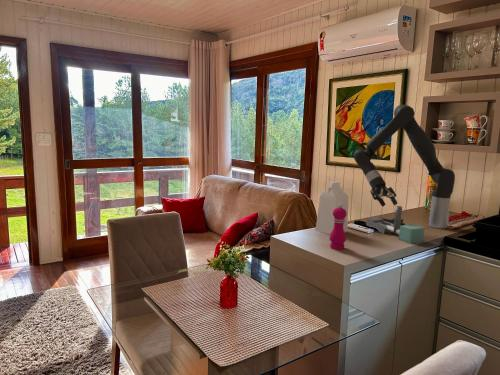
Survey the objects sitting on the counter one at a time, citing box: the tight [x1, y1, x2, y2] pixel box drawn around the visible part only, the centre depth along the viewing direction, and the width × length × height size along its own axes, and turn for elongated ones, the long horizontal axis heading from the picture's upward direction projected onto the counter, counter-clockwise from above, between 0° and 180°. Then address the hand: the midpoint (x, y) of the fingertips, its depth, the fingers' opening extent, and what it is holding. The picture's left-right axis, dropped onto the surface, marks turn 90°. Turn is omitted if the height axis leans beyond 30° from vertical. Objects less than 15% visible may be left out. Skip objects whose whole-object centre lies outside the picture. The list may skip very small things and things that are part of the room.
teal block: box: [398, 223, 426, 244], centre depth 179 cm, size 9×7×7 cm
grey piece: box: [387, 205, 403, 235], centre depth 185 cm, size 3×18×14 cm, turn 26°
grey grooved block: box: [365, 216, 394, 235], centre depth 197 cm, size 8×13×5 cm, turn 26°
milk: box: [315, 181, 349, 235], centre depth 190 cm, size 12×12×26 cm
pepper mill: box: [329, 204, 347, 251], centre depth 164 cm, size 7×7×20 cm
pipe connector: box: [378, 216, 406, 226], centre depth 203 cm, size 12×5×15 cm
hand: (390, 205), depth 190 cm, fingers open, 8 cm apart
